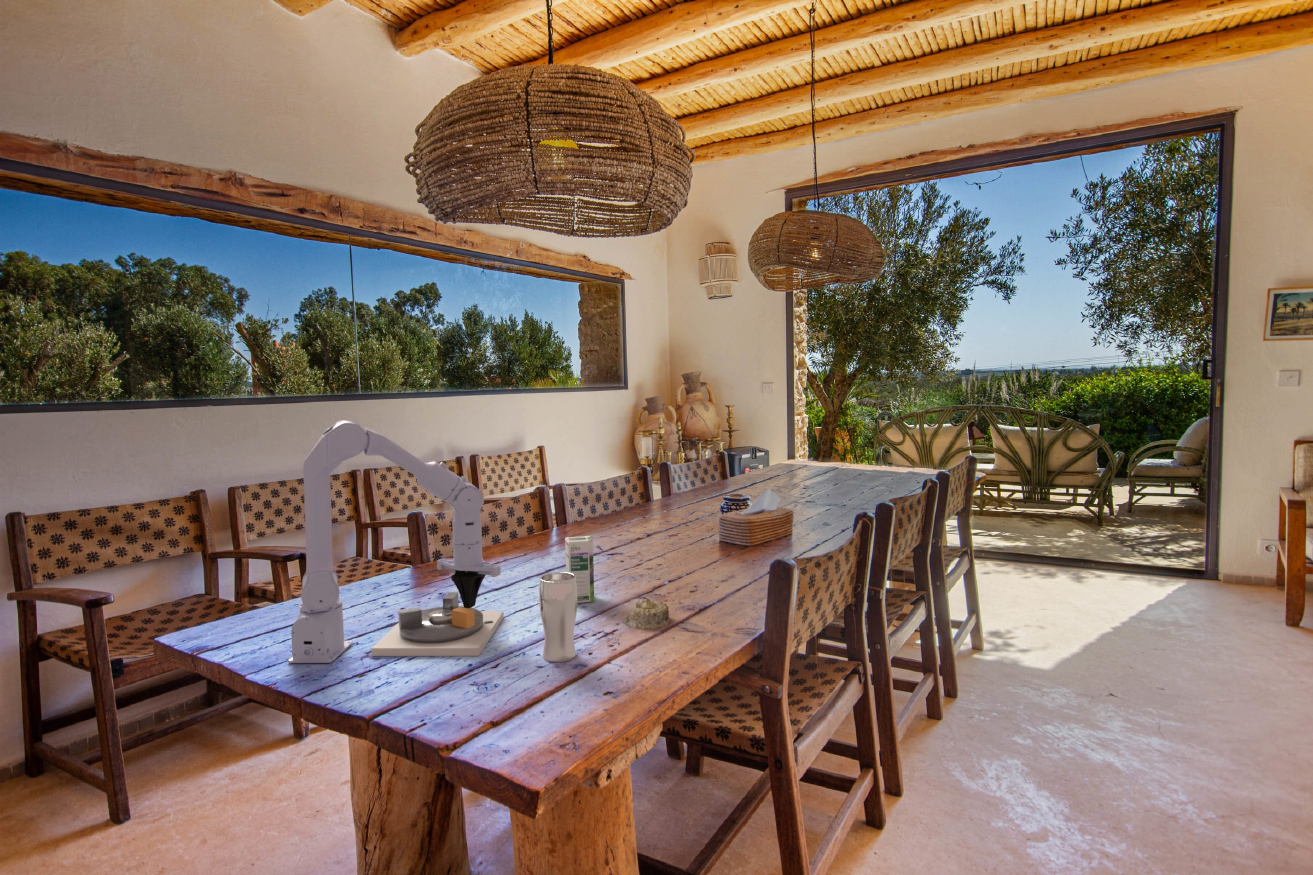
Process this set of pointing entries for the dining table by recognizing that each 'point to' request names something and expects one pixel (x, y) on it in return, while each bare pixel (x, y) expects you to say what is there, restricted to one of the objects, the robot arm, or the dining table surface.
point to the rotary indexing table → (439, 622)
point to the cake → (648, 615)
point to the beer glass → (558, 615)
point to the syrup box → (581, 565)
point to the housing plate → (461, 647)
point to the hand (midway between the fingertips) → (469, 606)
